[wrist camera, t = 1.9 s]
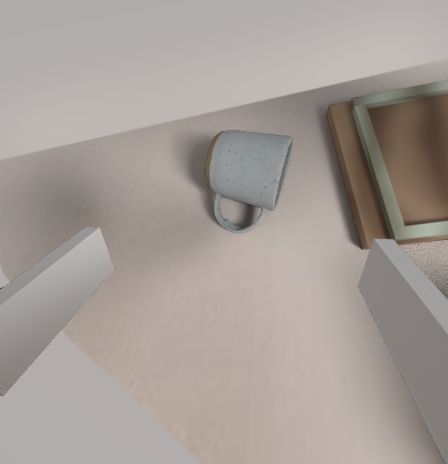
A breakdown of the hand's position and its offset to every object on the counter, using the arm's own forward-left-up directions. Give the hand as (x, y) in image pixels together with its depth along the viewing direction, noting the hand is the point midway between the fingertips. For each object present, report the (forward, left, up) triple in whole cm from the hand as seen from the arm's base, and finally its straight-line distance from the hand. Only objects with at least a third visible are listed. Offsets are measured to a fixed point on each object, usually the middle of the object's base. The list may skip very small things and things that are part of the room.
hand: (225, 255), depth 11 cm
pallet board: (-23, -11, -15) cm, 30 cm away
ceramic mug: (-2, -10, -16) cm, 19 cm away
